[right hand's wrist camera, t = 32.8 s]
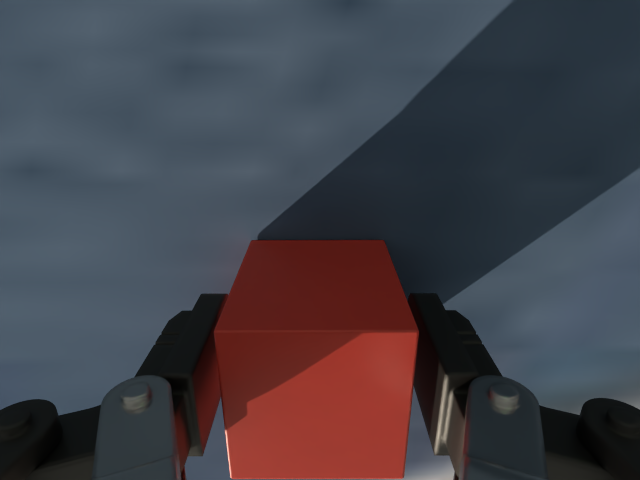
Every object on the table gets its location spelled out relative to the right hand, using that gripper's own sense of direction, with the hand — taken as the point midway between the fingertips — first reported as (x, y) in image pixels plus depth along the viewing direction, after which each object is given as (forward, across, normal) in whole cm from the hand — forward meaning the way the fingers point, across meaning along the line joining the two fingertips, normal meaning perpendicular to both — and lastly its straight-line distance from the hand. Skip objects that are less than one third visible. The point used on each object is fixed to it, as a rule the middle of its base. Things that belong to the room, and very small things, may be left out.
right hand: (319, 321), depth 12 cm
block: (+2, 0, 0) cm, 2 cm away
